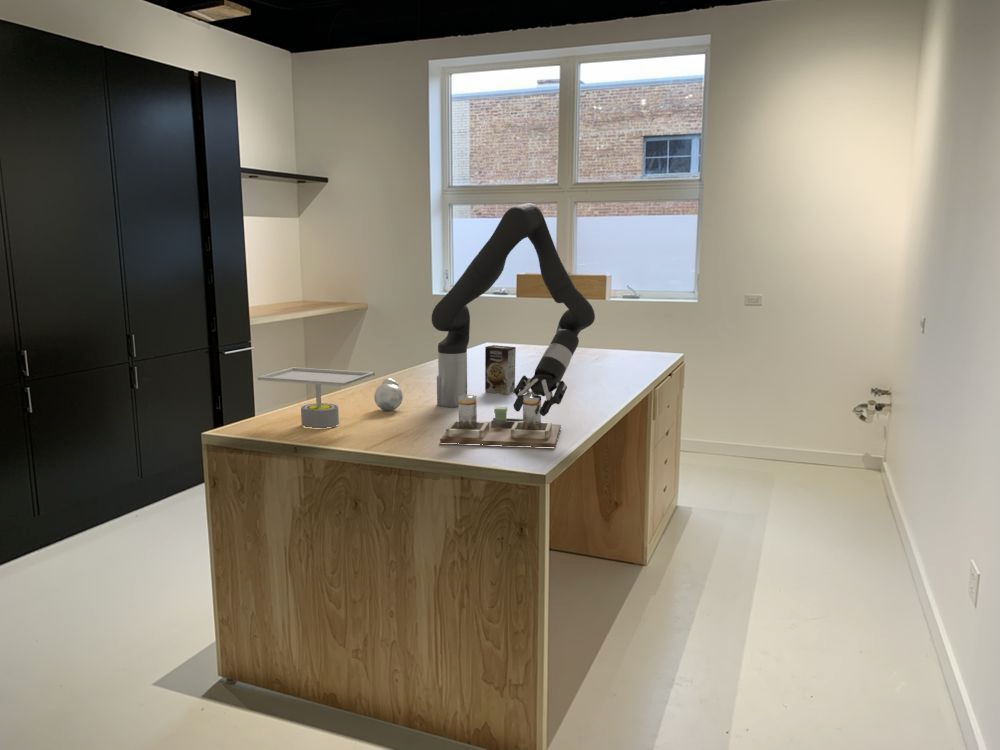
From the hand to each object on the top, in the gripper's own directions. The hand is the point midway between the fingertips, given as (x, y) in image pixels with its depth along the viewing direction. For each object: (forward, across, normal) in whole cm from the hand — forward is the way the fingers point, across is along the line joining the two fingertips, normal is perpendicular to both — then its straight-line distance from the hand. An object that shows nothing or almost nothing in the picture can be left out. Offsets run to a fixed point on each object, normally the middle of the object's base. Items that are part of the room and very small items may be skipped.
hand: (528, 412), depth 198 cm
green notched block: (+2, +12, -7) cm, 14 cm away
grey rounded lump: (+5, +55, -6) cm, 56 cm away
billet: (+3, 0, -5) cm, 6 cm away
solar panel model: (+24, +56, +12) cm, 62 cm away
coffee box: (-26, +46, -37) cm, 64 cm away
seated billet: (+11, +14, +2) cm, 17 cm away
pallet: (+7, +7, -4) cm, 11 cm away
